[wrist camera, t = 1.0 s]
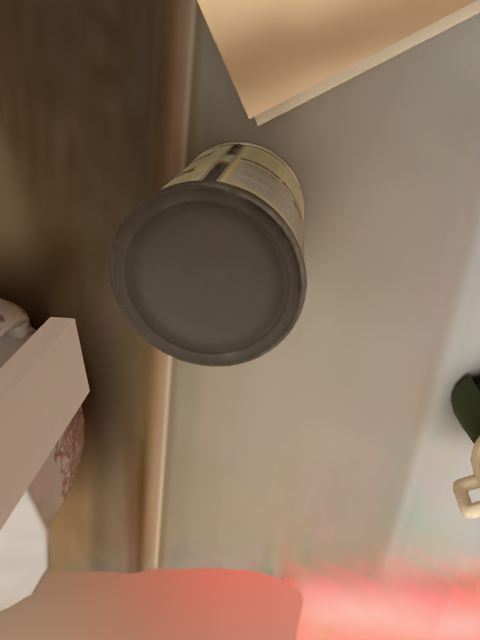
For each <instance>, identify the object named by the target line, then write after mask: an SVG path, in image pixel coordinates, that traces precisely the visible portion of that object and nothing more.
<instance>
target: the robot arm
mask: <svg viewBox="0 0 480 640" xmlns="http://www.w3.org/2000/svg"><path fill="white" fill-rule="evenodd" d="M89 392H90V390H89V385H88V380H87V375H86V371H85V366H84V361H83V356H82V351H81V346H80V342H79V337H78V332H77V327H76V322H75V318H59V317H50V318H49V319H48V320H47V321H46V322H45V323H44V324H43V325H42V326H41V327H40V328H39V329H38V330H37V331H36V332H35V333H34V334H33V335H32V336H31V337H30V338H29V339H28V340H27V341H26V342H25V344H24V345H23V346H22V347H21V348H20V349H19V350H18V351H17V352H16V353H15V354H14V355H13V356H12V357H11V358H10V359H9V360H8V361H7V362H6V363H5V364H4V365H3V366H2V367H1V368H0V531H1V529H2V527H3V526H4V524H5V523H6V521H7V520H8V518H9V517H10V515H11V513H12V512H13V510H14V509H15V507H16V506H17V504H18V502H19V501H20V499H21V498H22V496H23V495H24V493H25V492H26V490H27V488H28V487H29V485H30V484H31V482H32V481H33V479H34V477H35V476H36V474H37V473H38V471H39V470H40V468H41V467H42V465H43V463H44V462H45V460H46V459H47V457H48V456H49V454H50V452H51V451H52V449H53V448H54V446H55V445H56V443H57V442H58V440H59V438H60V437H61V435H62V434H63V432H64V431H65V429H66V427H67V426H68V424H69V423H70V421H71V420H72V418H73V417H74V415H75V413H76V412H77V410H78V409H79V407H80V406H81V404H82V403H83V401H84V399H85V398H86V396H87V395H88V393H89Z"/></svg>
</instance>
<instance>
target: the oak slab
mask: <svg viewBox="0 0 480 640" xmlns="http://www.w3.org/2000/svg"><path fill="white" fill-rule="evenodd" d="M197 1H198V4H199V6H200V8H201V11H202V13H203V15H204V17H205V20H206V22H207V24H208V27H209V29H210V31H211V33H212V36H213V38H214V40H215V43H216V45H217V47H218V49H219V52H220V54H221V56H222V59H223V61H224V63H225V65H226V68H227V70H228V72H229V75H230V77H231V79H232V81H233V84H234V86H235V88H236V91H237V93H238V95H239V97H240V100H241V102H242V104H243V107H244V109H245V111H246V113H247V116H248V118H249V119H251V118H253V117H255V116H257V115H258V114H260V113H262V112H264V111H266V110H268V109H270V108H272V107H274V106H276V105H278V104H280V103H281V102H283V101H285V100H287V99H289V98H291V97H293V96H295V95H297V94H299V93H301V92H303V91H304V90H306V89H308V88H310V87H312V86H314V85H316V84H318V83H320V82H322V81H324V80H326V79H327V78H329V77H331V76H333V75H335V74H337V73H339V72H341V71H343V70H345V69H347V68H349V67H350V66H352V65H354V64H356V63H358V62H360V61H362V60H364V59H366V58H368V57H370V56H371V55H373V54H375V53H377V52H379V51H381V50H383V49H385V48H387V47H389V46H391V45H393V44H394V43H396V42H398V41H400V40H402V39H404V38H406V37H408V36H410V35H412V34H414V33H416V32H417V31H419V30H421V29H423V28H425V27H427V26H429V25H431V24H433V23H435V22H437V21H439V20H440V19H442V18H444V17H446V16H448V15H450V14H452V13H454V12H456V11H458V10H460V9H462V8H463V7H465V6H467V5H469V4H471V3H473V2H475V1H477V0H197Z"/></svg>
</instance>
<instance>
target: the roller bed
mask: <svg viewBox="0 0 480 640" xmlns="http://www.w3.org/2000/svg"><path fill="white" fill-rule="evenodd" d="M478 13H480V0H477V1H475V2H473V3H471V4H469V5H467V6H465V7H463V8H462V9H460V10H458V11H456V12H454V13H452V14H450V15H448V16H446V17H444V18H442V19H440V20H439V21H437V22H435V23H433V24H431V25H429V26H427V27H425V28H423V29H421V30H419V31H417V32H416V33H414V34H412V35H410V36H408V37H406V38H404V39H402V40H400V41H398V42H396V43H394V44H393V45H391V46H389V47H387V48H385V49H383V50H381V51H379V52H377V53H375V54H373V55H371V56H370V57H368V58H366V59H364V60H362V61H360V62H358V63H356V64H354V65H352V66H350V67H349V68H347V69H345V70H343V71H341V72H339V73H337V74H335V75H333V76H331V77H329V78H327V79H326V80H324V81H322V82H320V83H318V84H316V85H314V86H312V87H310V88H308V89H306V90H304V91H303V92H301V93H299V94H297V95H295V96H293V97H291V98H289V99H287V100H285V101H283V102H281V103H280V104H278V105H276V106H274V107H272V108H270V109H268V110H266V111H264V112H262V113H260V114H258V115H257V116H255V117H254V118H255V120H256V123H257V125H258V126H260V125H262V124H264V123H266V122H268V121H269V120H271V119H273V118H275V117H277V116H279V115H281V114H283V113H285V112H287V111H289V110H291V109H293V108H295V107H297V106H299V105H301V104H303V103H305V102H307V101H308V100H310V99H312V98H314V97H316V96H318V95H320V94H322V93H324V92H326V91H328V90H330V89H332V88H334V87H336V86H338V85H340V84H342V83H344V82H345V81H347V80H349V79H351V78H353V77H355V76H357V75H359V74H361V73H363V72H365V71H367V70H369V69H371V68H373V67H375V66H377V65H379V64H381V63H383V62H384V61H386V60H388V59H390V58H392V57H394V56H396V55H398V54H400V53H402V52H404V51H406V50H408V49H410V48H412V47H414V46H416V45H418V44H420V43H421V42H423V41H425V40H427V39H429V38H431V37H433V36H435V35H437V34H439V33H441V32H443V31H445V30H447V29H449V28H451V27H453V26H455V25H457V24H459V23H460V22H462V21H464V20H466V19H468V18H470V17H472V16H474V15H476V14H478Z"/></svg>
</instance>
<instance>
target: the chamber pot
mask: <svg viewBox="0 0 480 640" xmlns="http://www.w3.org/2000/svg"><path fill="white" fill-rule="evenodd" d="M36 331H37V330H35V329H34V328H33V327H32V326H31V325H30V324H29V317H28V315H27V313H26V312H25V310H24V309H22V308H21V307H20V306H18V305H17V304H15V303H14V302H12V301H7V300H3V299H0V368H1V367H2V366H3V365H4V364H5V363H6V362H7V361H8V360H9V359H10V358H11V357H12V356H13V355H14V354H15V353H16V352H17V351H18V350H19V349H20V348H21V347H22V346H23V345H24V344H25V342H26V341H27V340H28V339H29V338H30V337H31V336H32V335H33V334H34V333H35V332H36ZM84 422H85V421H84V416H83V411H82V405H81V406H80V407H79V409H78V410H77V412H76V413H75V415H74V417H73V418H72V420H71V421H70V423H69V424H68V426H67V427H66V429H65V431H64V432H63V434H62V435H61V437H60V438H59V440H58V442H57V443H56V445H55V446H54V448H53V449H52V451H51V452H50V454H49V456H48V457H47V459H46V460H45V462H44V463H43V465H42V467H41V468H40V470H39V471H38V473H37V474H36V476H35V477H34V479H33V481H32V482H31V484H30V485H29V487H28V488H27V490H26V492H25V493H24V495H23V496H22V498H21V499H20V501H19V502H18V504H17V506H16V507H15V509H14V510H13V512H12V513H11V515H10V517H9V518H8V520H7V521H6V523H5V524H4V526H3V527H2V529H1V531H0V611H2V610H4V609H6V608H8V607H10V606H12V605H13V604H15V603H17V602H19V601H20V600H22V599H24V598H26V597H28V596H29V595H31V594H33V593H34V592H35V591H36V589H37V588H38V586H39V584H40V583H41V581H42V579H43V577H44V576H45V574H46V573H47V571H48V569H49V568H50V541H49V527H50V526H51V524H52V522H53V520H54V518H55V516H56V515H57V513H58V511H59V509H60V507H61V506H62V504H63V502H64V500H65V498H66V496H67V495H68V493H69V491H70V489H71V487H72V485H73V484H74V481H75V477H76V474H77V471H78V467H79V464H80V460H81V457H82V453H83V450H84Z"/></svg>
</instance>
